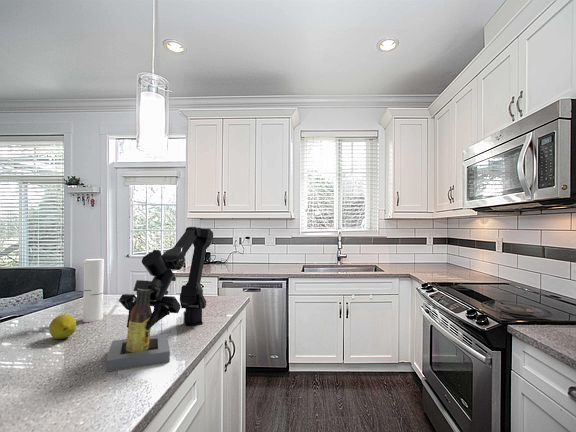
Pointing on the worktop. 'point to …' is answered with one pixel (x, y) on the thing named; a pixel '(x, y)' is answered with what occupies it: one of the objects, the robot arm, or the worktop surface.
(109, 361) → the socket frame
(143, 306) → the sauce bottle
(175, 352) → the worktop surface
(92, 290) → the cylindrical container
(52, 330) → the lemon
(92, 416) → the worktop surface
